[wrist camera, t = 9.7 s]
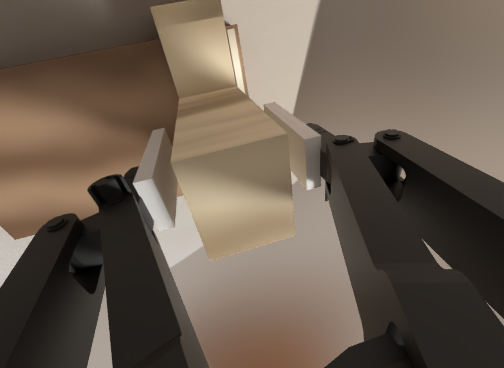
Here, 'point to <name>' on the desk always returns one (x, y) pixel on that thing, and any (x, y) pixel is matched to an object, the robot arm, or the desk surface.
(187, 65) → the bracket
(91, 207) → the board
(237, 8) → the desk surface
